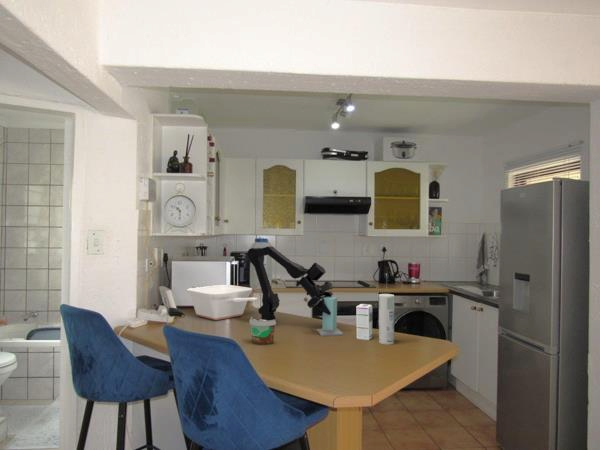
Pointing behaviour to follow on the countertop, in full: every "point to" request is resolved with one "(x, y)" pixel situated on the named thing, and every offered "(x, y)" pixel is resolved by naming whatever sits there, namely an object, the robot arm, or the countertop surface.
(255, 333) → the food container
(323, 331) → the coaster
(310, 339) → the countertop surface
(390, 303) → the spray can
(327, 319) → the block
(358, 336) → the syrup box
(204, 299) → the pot
